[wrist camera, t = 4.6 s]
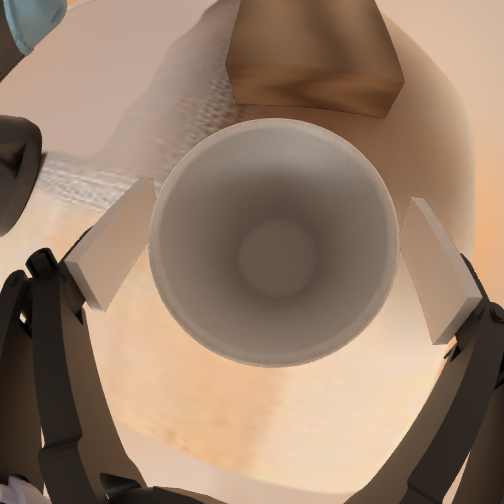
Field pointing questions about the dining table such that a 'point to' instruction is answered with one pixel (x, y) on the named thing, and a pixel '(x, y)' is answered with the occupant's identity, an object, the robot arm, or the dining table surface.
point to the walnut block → (314, 56)
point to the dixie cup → (274, 242)
